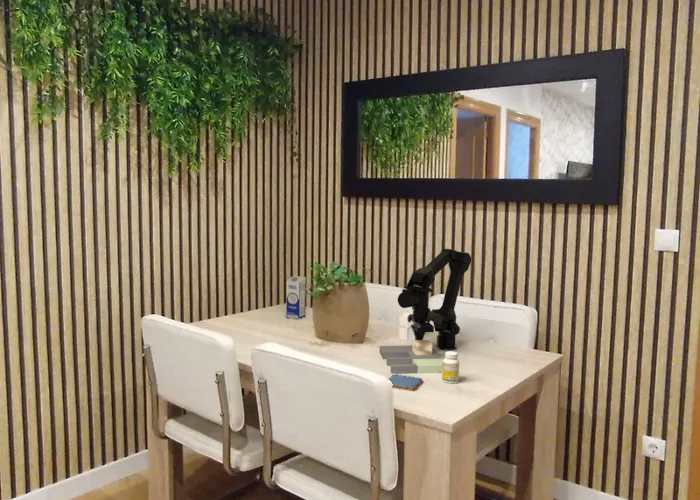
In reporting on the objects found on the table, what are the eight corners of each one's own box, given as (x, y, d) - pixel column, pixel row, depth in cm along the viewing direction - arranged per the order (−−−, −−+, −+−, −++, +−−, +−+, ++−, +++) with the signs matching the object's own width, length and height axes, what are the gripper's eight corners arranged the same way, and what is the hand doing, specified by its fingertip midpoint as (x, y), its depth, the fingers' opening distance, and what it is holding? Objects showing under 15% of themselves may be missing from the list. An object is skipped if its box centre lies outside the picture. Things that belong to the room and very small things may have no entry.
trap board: (430, 351, 226) (430, 345, 226) (448, 372, 200) (448, 365, 200) (379, 352, 224) (379, 345, 223) (391, 373, 198) (391, 366, 198)
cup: (412, 342, 239) (413, 318, 238) (392, 338, 245) (392, 315, 244) (424, 337, 247) (425, 314, 246) (404, 333, 253) (405, 311, 252)
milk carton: (305, 316, 283) (306, 276, 281) (298, 319, 277) (299, 278, 275) (293, 315, 286) (293, 275, 284) (286, 318, 280) (286, 277, 278)
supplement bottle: (453, 385, 187) (454, 356, 186) (439, 381, 191) (440, 353, 190) (461, 381, 191) (462, 352, 190) (447, 377, 195) (448, 349, 194)
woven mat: (415, 393, 180) (415, 387, 180) (383, 388, 185) (383, 382, 184) (424, 383, 190) (424, 377, 190) (393, 378, 194) (393, 372, 194)
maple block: (427, 350, 218) (428, 339, 218) (431, 354, 212) (432, 344, 212) (412, 350, 218) (412, 340, 217) (415, 355, 212) (416, 344, 211)
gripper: (448, 309, 209) (446, 351, 211) (435, 299, 228) (434, 338, 229) (418, 309, 208) (416, 352, 210) (407, 299, 227) (406, 338, 228)
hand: (419, 345), depth 219 cm, fingers closed
